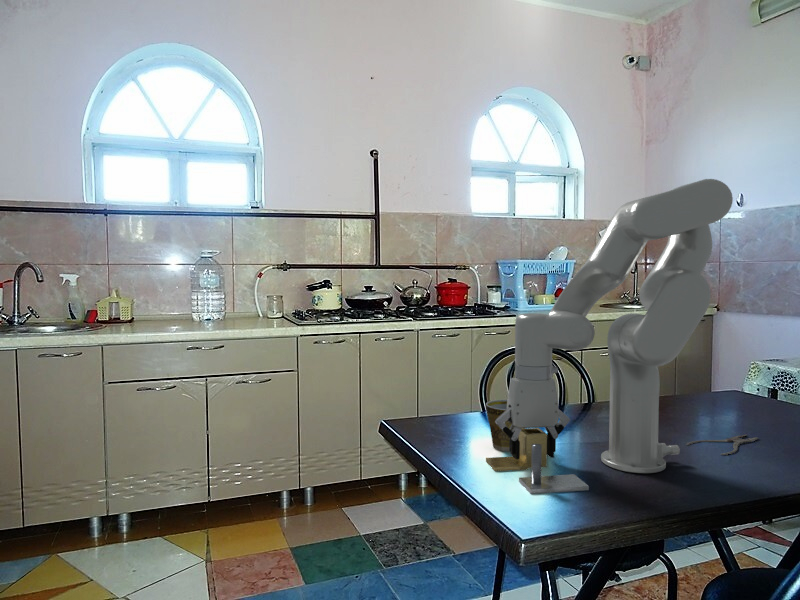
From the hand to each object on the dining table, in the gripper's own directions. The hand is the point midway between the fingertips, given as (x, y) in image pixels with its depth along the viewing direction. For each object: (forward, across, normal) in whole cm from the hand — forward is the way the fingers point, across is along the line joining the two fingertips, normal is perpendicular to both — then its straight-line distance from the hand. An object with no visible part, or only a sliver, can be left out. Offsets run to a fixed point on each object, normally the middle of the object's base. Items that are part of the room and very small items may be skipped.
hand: (532, 455), depth 118 cm
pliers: (+2, -50, -7) cm, 50 cm away
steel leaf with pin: (+2, +1, +12) cm, 12 cm away
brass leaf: (+2, +4, 0) cm, 4 cm away
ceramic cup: (+2, +1, -13) cm, 13 cm away
